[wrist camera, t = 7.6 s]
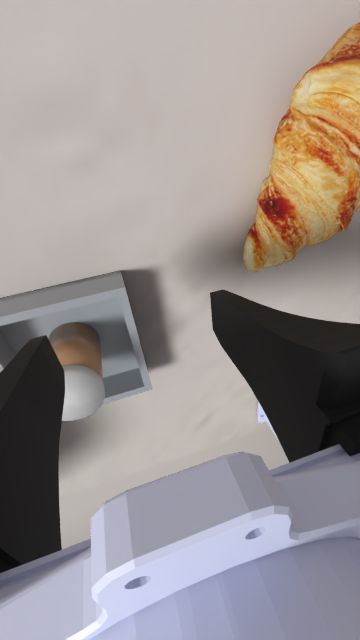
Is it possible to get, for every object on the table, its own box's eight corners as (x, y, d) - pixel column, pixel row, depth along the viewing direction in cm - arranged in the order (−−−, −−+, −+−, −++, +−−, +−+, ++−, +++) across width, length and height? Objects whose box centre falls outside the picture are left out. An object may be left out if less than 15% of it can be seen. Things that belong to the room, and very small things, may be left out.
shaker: (106, 356, 24) (111, 410, 19) (57, 368, 23) (49, 427, 18) (93, 316, 22) (95, 366, 17) (38, 328, 21) (23, 384, 16)
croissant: (244, 262, 28) (312, 310, 24) (187, 233, 20) (275, 298, 16) (415, 17, 20) (554, 28, 16) (436, -192, 12) (718, -267, 8)
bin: (146, 366, 26) (152, 389, 24) (38, 398, 25) (32, 425, 22) (120, 270, 21) (125, 286, 18) (-22, 303, 19) (-38, 326, 17)
